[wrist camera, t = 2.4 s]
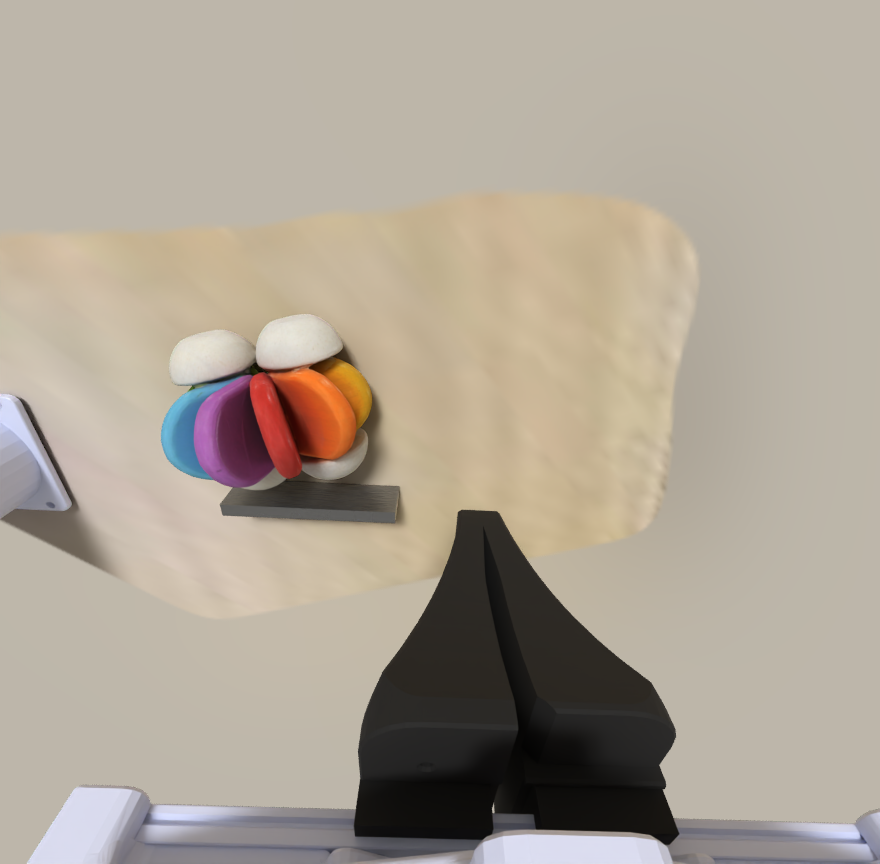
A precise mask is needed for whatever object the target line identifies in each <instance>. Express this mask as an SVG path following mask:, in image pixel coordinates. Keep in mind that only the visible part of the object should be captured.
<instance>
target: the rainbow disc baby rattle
mask: <svg viewBox="0 0 880 864" xmlns="http://www.w3.org/2000/svg"><path fill="white" fill-rule="evenodd" d="M342 348H343V343H342V340H341V338H340V336H339V335H338V333H337V332H336V331H335V329H334V328H333V327H332V326H331V325H330V324H329V323H327V322H326V321H325V320H323V319H321V318H319V317H317V316H315V315H311V314H299V315H293V316H288V317H284V318H280V319H277V320H274V321H271V322H270V323H268V324H267V325H266V326H265V328H264V329H263V330H262V332H261V334H260V335H259V338H258V341H257V344H256V348H255V347H254V346H253V345H252V344H251V343H250V342H249V341H248V340H247V339H245V338H244V337H242V336H241V335H239V334H236V333H234V332H231V331H228V330H223V329H220V330H212V331H207V332H203V333H199V334H196V335H192V336H189V337H187V338H184V339H183V340H181V341H180V342H179V343H178V344H177V346H176V347H175V348H174V350H173V352H172V355H171V358H170V362H169V372H170V377H171V380H172V382H173V383H174V384H175V385H180V386H190V385H192V387H191V388H190V389H189V391H188V392H187V393H185V394H184V395H182V396H181V397H180V398H179V399H178V400H177V401H176V402H175V403H174V404H173V405H172V407H171V408H170V409H169V411H168V413H167V415H166V417H165V419H164V422H163V425H162V430H161V442H162V447H163V450H164V453H165V455H166V457H167V459H168V460H169V461H170V462H171V464H173V465H174V466H175V467H176V468H177V469H179V470H180V471H182V472H184V473H186V474H188V475H190V476H193V477H197V478H201V479H208V480H215V481H217V482H219V483H221V484H223V485H226V486H229V487H235V488H244V489H248V490H265V489H269V488H272V487H275V486H277V485H279V484H280V483H282V482H283V481H284V480H286V479H287V478H288V479H290V478H293V477H296V476H298V475H299V474H300V472H301V470H303V471H304V472H305V473H307V474H308V475H310V476H312V477H315V478H318V479H323V480H335V479H339V478H342V477H345V476H347V475H349V474H350V473H352V472H353V471H355V470H356V469H357V468H358V467H359V465H360V464H361V463H362V461H363V460H364V458H365V455H366V452H367V448H368V436H367V434H366V432H365V431H364V430H363V429H361V428H360V427H361V426H362V425H363V423H364V422H365V421H366V420H367V418H368V416H369V413H370V410H371V407H372V393H371V390H370V387H369V385H368V383H367V381H366V379H365V378H364V377H363V376H362V374H361V373H360V372H359V371H358V370H357V369H355V368H354V367H353V366H352V365H350V364H348V363H346V362H344V361H342V360H340V359H337V358H335V357H331V356H334V355H335V354H337V353H339V352H340V351H341V350H342ZM255 363H257V364H258V365H259V367H261V368H263V369H264V370H265V371H268V372H269V373H268V374H266V373H265V372H262V373H259V372H258V371H257V370H256V369H255V368H251V366H252V365H253V364H255Z"/></svg>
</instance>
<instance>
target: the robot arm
mask: <svg viewBox="0 0 880 864" xmlns="http://www.w3.org/2000/svg"><path fill="white" fill-rule="evenodd" d="M71 506H72V503H71V500H70V498H69V496H68V494H67V492H66V490H65V488H64V486H63V484H62V482H61V480H60V478H59V476H58V474H57V472H56V471H55V469H54V467H53V465H52V463H51V461H50V459H49V457H48V455H47V453H46V451H45V449H44V447H43V445H42V443H41V441H40V439H39V437H38V435H37V433H36V431H35V429H34V427H33V425H32V423H31V421H30V419H29V417H28V415H27V413H26V411H25V409H24V407H23V405H22V403H21V401H20V400H19V399H18V398H17V397H15V396H13V395H9V394H0V519H1V518H3V517H4V516H5V515H7V514H8V513H10V512H11V511H13V510H14V509H29V510H51V511H66V510H67V509H69V508H70V507H71ZM675 738H676V733H675V728H674V725H673V723H672V721H671V719H670V717H669V714H668V712H667V710H666V708H665V706H664V704H663V702H662V700H661V699H660V697H659V695H658V694H657V692H656V690H655V688H654V687H653V685H652V683H651V682H650V681H648V680H647V679H646V678H644V677H643V676H642V675H641V674H639V673H638V672H637V671H635V670H634V669H633V668H631V667H630V666H629V665H627V664H626V663H625V662H623V661H622V660H621V659H620V658H618V657H617V656H616V655H615V654H614V653H612V652H611V651H610V650H608V648H606V647H605V646H604V645H603V644H602V643H601V642H599V641H598V640H597V639H596V638H595V637H594V636H593V635H592V634H591V633H590V632H589V631H588V630H587V629H586V628H585V627H584V626H583V625H581V624H580V623H579V622H578V621H577V620H576V619H575V618H574V617H573V616H572V615H571V613H570V612H569V611H568V610H567V609H566V608H565V607H564V606H563V605H562V604H561V603H560V602H559V600H558V599H557V598H556V597H555V596H554V595H553V594H552V592H551V591H550V590H549V589H548V588H547V586H546V585H545V584H544V582H543V581H542V580H541V579H540V577H539V576H538V575H537V573H536V572H535V571H534V569H533V568H532V566H531V565H530V564H529V562H528V561H527V559H526V558H525V556H524V555H523V553H522V552H521V550H520V549H519V547H518V545H517V544H516V542H515V541H514V539H513V537H512V536H511V534H510V532H509V530H508V529H507V527H506V525H505V523H504V521H503V519H502V518H501V515H500V514H499V513H498V512H497V511H477V510H461V511H459V512H458V517H457V527H456V536H455V540H454V544H453V547H452V550H451V554H450V557H449V559H448V562H447V564H446V567H445V569H444V572H443V575H442V577H441V579H440V582H439V584H438V586H437V588H436V590H435V592H434V594H433V596H432V598H431V600H430V602H429V604H428V605H427V607H426V609H425V611H424V613H423V614H422V616H421V618H420V619H419V621H418V623H417V624H416V626H415V627H414V629H413V630H412V632H411V633H410V635H409V636H408V638H407V639H406V641H405V643H404V644H403V645H402V647H401V648H400V650H399V651H398V652H397V654H396V655H395V656H394V657H393V659H392V660H391V662H390V663H389V664H388V665H387V667H386V668H385V669H384V671H383V672H382V675H381V677H380V679H379V681H378V683H377V685H376V687H375V690H374V692H373V694H372V697H371V699H370V702H369V704H368V706H367V709H366V712H365V715H364V719H363V723H362V727H361V734H360V741H359V749H358V757H359V767H360V785H359V791H358V798H357V805H356V809H355V810H354V809H320V808H284V807H281V808H280V807H249V806H248V807H247V806H212V805H178V804H151V803H150V800H149V797H148V795H147V794H146V793H145V792H144V791H143V790H141V789H138V788H135V787H129V786H108V785H107V786H106V785H105V786H104V785H80V786H78V787H76V788H75V789H74V790H73V792H72V793H71V795H70V796H69V798H68V799H67V801H66V803H65V804H64V806H63V807H62V809H61V810H60V812H59V814H58V815H57V817H56V818H55V820H54V822H53V823H52V824H51V826H50V828H49V829H48V831H47V833H46V834H45V835H44V837H43V839H42V840H41V842H40V843H39V845H38V846H37V848H36V849H35V851H34V853H33V854H32V856H31V857H30V859H29V860H28V862H27V864H880V809H876V810H872V811H869V812H867V813H865V814H863V815H862V816H860V817H859V818H858V819H857V820H856V823H817V822H783V821H748V820H712V819H677V818H673V816H672V813H671V810H670V808H669V805H668V803H667V800H666V797H665V795H664V792H663V790H662V789H665V787H666V781H665V779H664V777H663V774H662V772H661V769H660V766H659V764H660V763H661V762H662V760H663V759H664V757H665V756H666V754H667V753H668V752H669V750H670V749H671V747H672V745H673V743H674V740H675ZM493 803H494V809H495V813H492V807H493Z"/></svg>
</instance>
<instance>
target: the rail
mask: <svg viewBox="0 0 880 864" xmlns="http://www.w3.org/2000/svg"><path fill="white" fill-rule="evenodd" d="M398 501H399V486H379V485H357V484H336V483H315V482H294V481H283V482H282V483H280V484H279V485H277V486H275V487H272V488H269V489H265V490H248V489H244V488H235V487H233V488H232V489H231V491H230V492H229V493H228V495H227V496H226V497H225V499H224V500H223V501H222V503H221V504H220V507H221V511H222V514H223V515H224V516H246V517H268V518H291V519H313V520H335V521H358V522H380V523H395V521H396V514H397V507H398Z"/></svg>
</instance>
